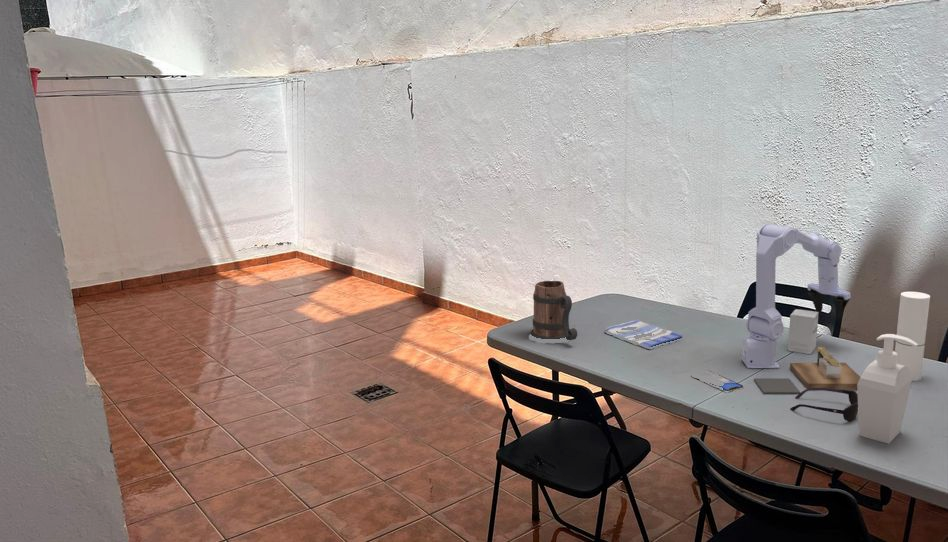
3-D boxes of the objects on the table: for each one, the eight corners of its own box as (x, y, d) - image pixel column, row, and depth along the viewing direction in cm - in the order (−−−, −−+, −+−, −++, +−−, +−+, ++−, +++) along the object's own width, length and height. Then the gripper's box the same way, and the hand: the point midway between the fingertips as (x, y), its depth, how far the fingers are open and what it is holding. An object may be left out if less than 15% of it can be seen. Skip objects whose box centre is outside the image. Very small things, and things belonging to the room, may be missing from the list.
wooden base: (807, 389, 199) (809, 370, 198) (789, 368, 215) (791, 350, 213) (867, 390, 197) (868, 370, 196) (844, 368, 213) (846, 349, 211)
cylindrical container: (919, 373, 207) (928, 292, 201) (922, 382, 200) (932, 299, 194) (891, 370, 210) (899, 290, 204) (893, 379, 203) (902, 297, 197)
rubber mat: (763, 394, 198) (763, 392, 198) (753, 380, 208) (754, 378, 208) (800, 394, 197) (800, 392, 197) (789, 380, 206) (789, 378, 206)
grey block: (825, 378, 202) (826, 365, 201) (818, 370, 207) (819, 358, 206) (840, 378, 201) (841, 365, 200) (832, 370, 207) (833, 358, 206)
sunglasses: (855, 427, 177) (856, 409, 176) (788, 415, 186) (789, 397, 184) (859, 406, 188) (860, 389, 187) (795, 396, 197) (797, 379, 195)
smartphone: (707, 371, 216) (707, 368, 216) (745, 388, 203) (745, 385, 203) (689, 377, 213) (689, 374, 213) (726, 394, 200) (726, 391, 200)
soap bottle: (898, 450, 165) (909, 347, 158) (852, 437, 172) (861, 338, 166) (914, 432, 173) (925, 333, 166) (870, 420, 180) (879, 325, 174)
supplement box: (811, 354, 225) (814, 317, 222) (787, 350, 229) (789, 314, 226) (816, 347, 231) (819, 311, 228) (792, 344, 235) (795, 308, 232)
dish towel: (637, 324, 264) (637, 317, 263) (684, 341, 244) (684, 333, 243) (602, 334, 256) (602, 326, 255) (648, 352, 236) (648, 344, 235)
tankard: (518, 334, 258) (517, 282, 253) (556, 325, 266) (555, 275, 261) (554, 353, 238) (553, 296, 233) (594, 343, 245) (594, 288, 241)
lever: (815, 350, 211) (816, 346, 211) (823, 350, 211) (823, 346, 211) (832, 367, 198) (833, 363, 198) (841, 367, 198) (841, 363, 198)
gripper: (856, 277, 222) (857, 315, 226) (817, 268, 234) (818, 305, 239) (841, 283, 219) (842, 322, 223) (802, 274, 232) (804, 311, 236)
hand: (829, 314), depth 231 cm, fingers open, 7 cm apart
